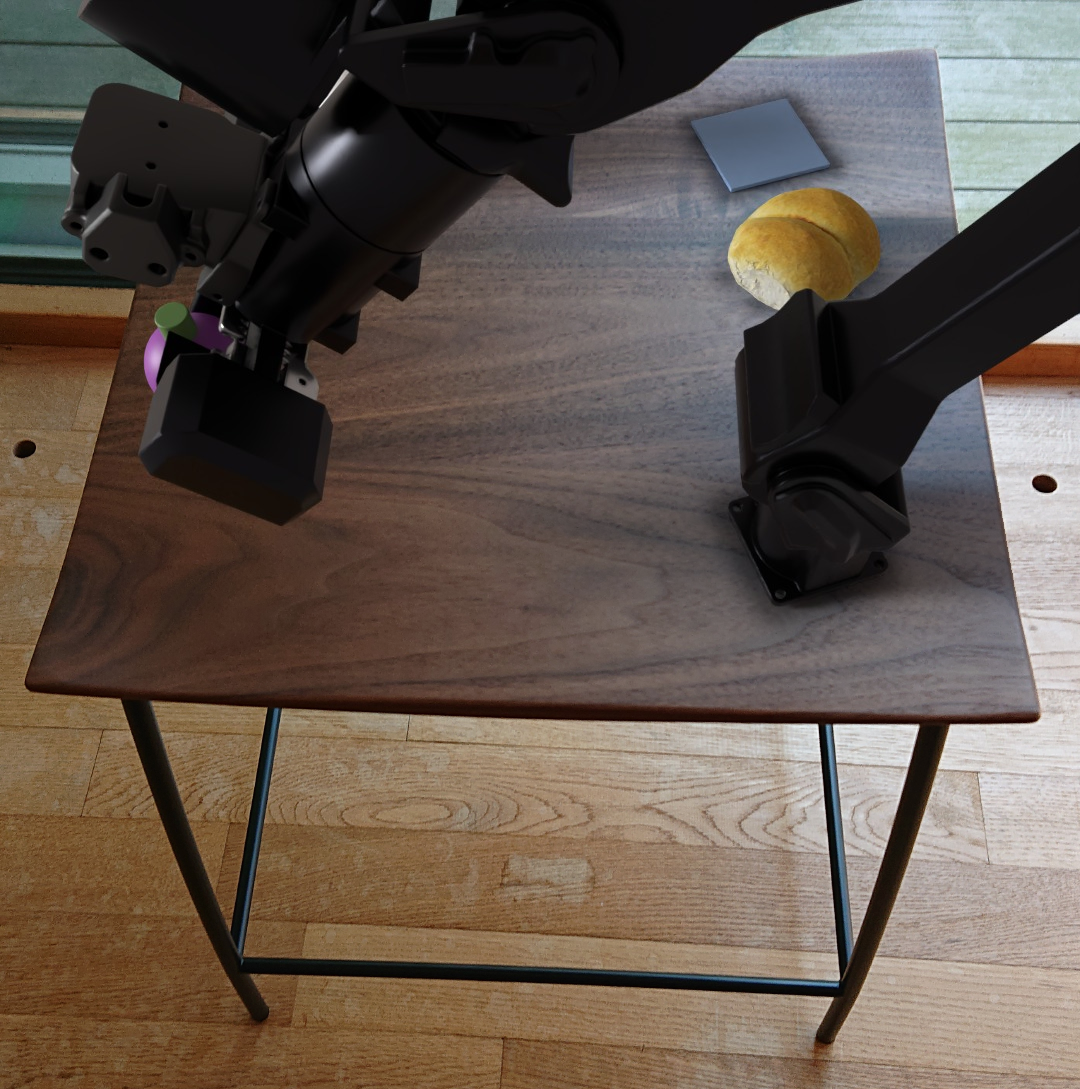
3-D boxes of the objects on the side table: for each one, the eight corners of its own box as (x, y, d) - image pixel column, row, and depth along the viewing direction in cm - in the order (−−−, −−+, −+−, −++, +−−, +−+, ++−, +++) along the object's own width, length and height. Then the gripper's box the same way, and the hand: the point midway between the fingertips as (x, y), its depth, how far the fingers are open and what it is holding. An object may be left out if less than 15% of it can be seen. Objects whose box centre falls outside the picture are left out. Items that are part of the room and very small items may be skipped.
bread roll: (897, 256, 67) (915, 206, 64) (811, 338, 64) (824, 291, 61) (790, 194, 70) (801, 143, 67) (702, 270, 67) (709, 221, 64)
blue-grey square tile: (829, 167, 71) (830, 163, 71) (730, 192, 70) (731, 189, 70) (785, 101, 75) (786, 98, 74) (690, 124, 74) (691, 121, 74)
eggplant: (303, 492, 53) (230, 342, 43) (214, 515, 52) (119, 368, 43) (292, 422, 55) (219, 263, 45) (206, 443, 54) (114, 288, 45)
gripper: (206, -131, 38) (48, 140, 48) (77, 271, 28) (-83, 498, 39) (461, 58, 44) (273, 262, 54) (424, 438, 35) (205, 595, 45)
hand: (179, 385), depth 48 cm, fingers closed on eggplant, 4 cm apart
